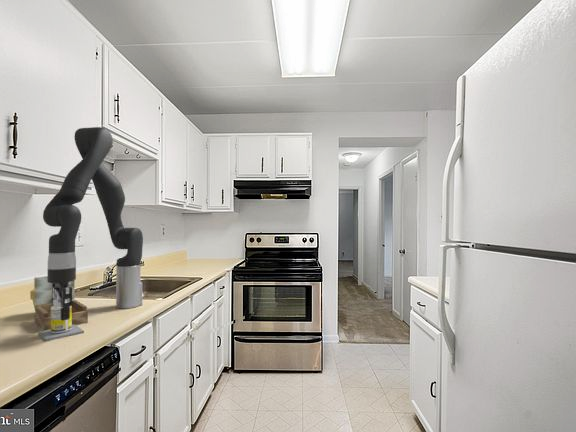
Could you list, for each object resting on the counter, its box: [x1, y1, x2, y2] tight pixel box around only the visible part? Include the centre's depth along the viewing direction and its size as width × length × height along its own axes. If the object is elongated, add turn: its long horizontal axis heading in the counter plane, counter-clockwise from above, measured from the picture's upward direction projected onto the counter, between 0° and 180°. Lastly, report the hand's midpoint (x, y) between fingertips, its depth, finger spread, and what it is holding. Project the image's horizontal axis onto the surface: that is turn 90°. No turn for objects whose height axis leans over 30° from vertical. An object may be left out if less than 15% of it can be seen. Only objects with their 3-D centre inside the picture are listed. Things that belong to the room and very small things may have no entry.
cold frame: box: [33, 276, 89, 331], centre depth 117 cm, size 12×18×16 cm
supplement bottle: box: [51, 299, 72, 333], centre depth 104 cm, size 6×6×10 cm
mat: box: [38, 324, 85, 342], centre depth 104 cm, size 10×10×1 cm
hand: (61, 317), depth 104 cm, fingers open, 8 cm apart
